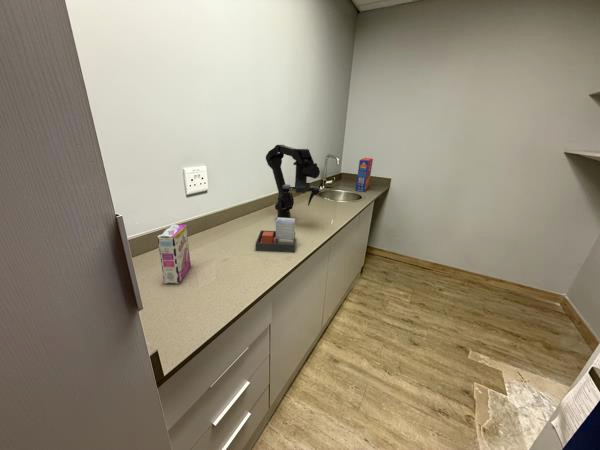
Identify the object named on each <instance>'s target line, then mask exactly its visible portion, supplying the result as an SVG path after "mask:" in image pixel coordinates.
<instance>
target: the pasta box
mask: <svg viewBox="0 0 600 450" xmlns="http://www.w3.org/2000/svg"><path fill="white" fill-rule="evenodd" d="M373 161H374V159H373V158H372V157H371V158H370V157H363V158H361V159H359V163H358V169H357V177H356V185H355V192H360V193H361V192H362V193H365V192H366V191H367V190H368V189H369V187H370V181H371V174H372V168H373Z"/></svg>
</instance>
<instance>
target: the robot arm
mask: <svg viewBox="0 0 600 450" xmlns="http://www.w3.org/2000/svg"><path fill="white" fill-rule="evenodd" d="M285 156H289V157H291V158H292V159H293V161H294V162H293V164H292V165H293V166H295V178H294V186H291V184H286V180H285V177H284V174H283V169H282V163H283V160H282V159H283V158H284V157H285ZM265 161H266V163H267V166H268V167H269V168H270V169H271V170H272V174H273V177H274V180H275V185H276V188H277V192H278V196H277V202H276V204H275V205H274V209H275V210H276V211H277V218H278V217H280V218H291V210H293V207H294V205H295V202H294V200H295V199H294V196H293V192H292V191H295V193H297V194H301V193H302V194H305V193H306V192H309V197H308V201H307V206H308V207H310V204H311V202H312V199H313V198H314V196H317V195H319V194H320V187H319V186H318V185H311V183H310V182H308V181H307V180H308V178H311V179H317V178H318V177H319V176H320V173H321V171H320V167H318V163H317V162H314V159H313V156H312V154H311V152H310V149H309V148H295V147H291V146H288V145H287V146H286V145H285V144H275V146H274V147H273V148H272V149H270V150H269V151H267V153H266V154H265ZM277 218H275V221H276V220H277Z"/></svg>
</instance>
